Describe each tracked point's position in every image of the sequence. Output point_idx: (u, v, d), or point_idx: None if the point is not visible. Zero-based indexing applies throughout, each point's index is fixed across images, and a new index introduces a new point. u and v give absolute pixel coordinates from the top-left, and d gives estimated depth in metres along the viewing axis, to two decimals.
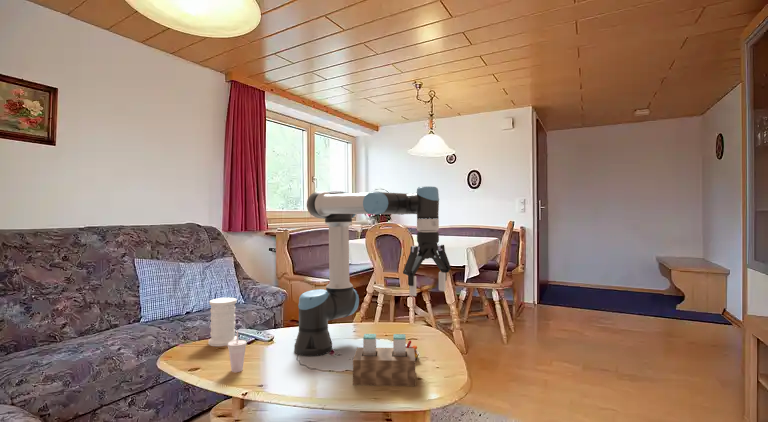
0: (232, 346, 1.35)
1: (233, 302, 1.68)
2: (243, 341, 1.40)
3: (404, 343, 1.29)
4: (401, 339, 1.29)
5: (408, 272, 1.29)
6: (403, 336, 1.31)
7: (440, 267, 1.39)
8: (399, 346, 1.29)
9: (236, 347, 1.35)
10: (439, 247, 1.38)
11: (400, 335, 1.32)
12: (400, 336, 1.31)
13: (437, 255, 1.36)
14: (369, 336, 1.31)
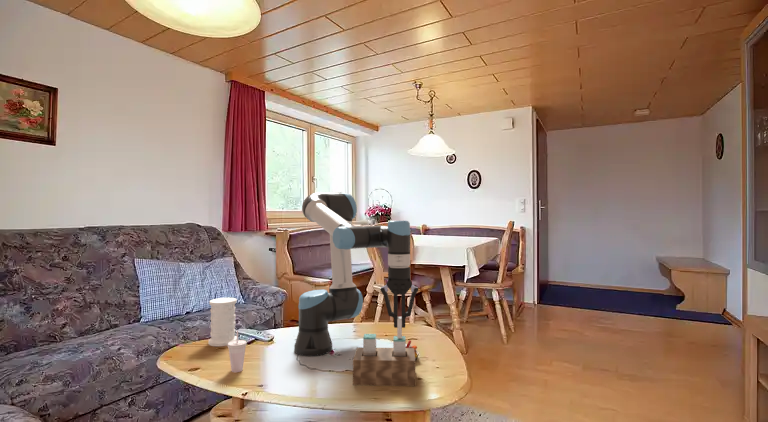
0: (232, 346, 1.35)
1: (233, 302, 1.68)
2: (243, 341, 1.40)
3: (404, 345, 1.29)
4: (401, 341, 1.29)
5: (389, 314, 1.30)
6: (403, 338, 1.31)
7: None
8: (399, 348, 1.29)
9: (236, 347, 1.35)
10: (413, 288, 1.31)
11: None
12: None
13: (403, 294, 1.30)
14: (369, 336, 1.31)
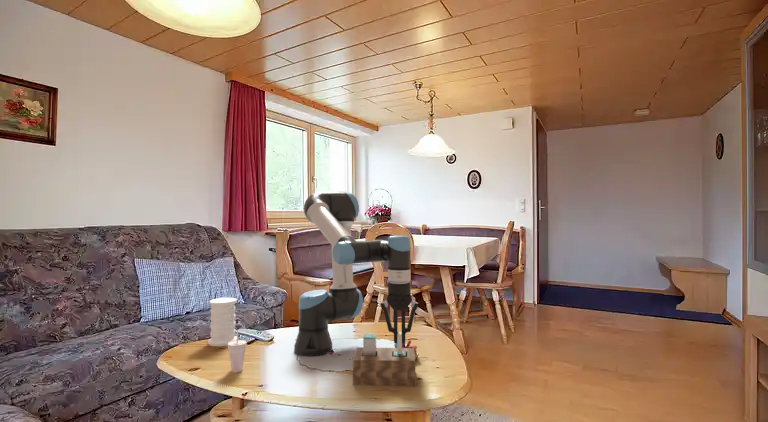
0: (232, 346, 1.35)
1: (233, 302, 1.68)
2: (243, 341, 1.40)
3: None
4: None
5: (389, 329, 1.30)
6: (403, 353, 1.31)
7: None
8: None
9: (236, 347, 1.35)
10: (413, 303, 1.31)
11: None
12: None
13: (403, 309, 1.30)
14: (369, 336, 1.31)
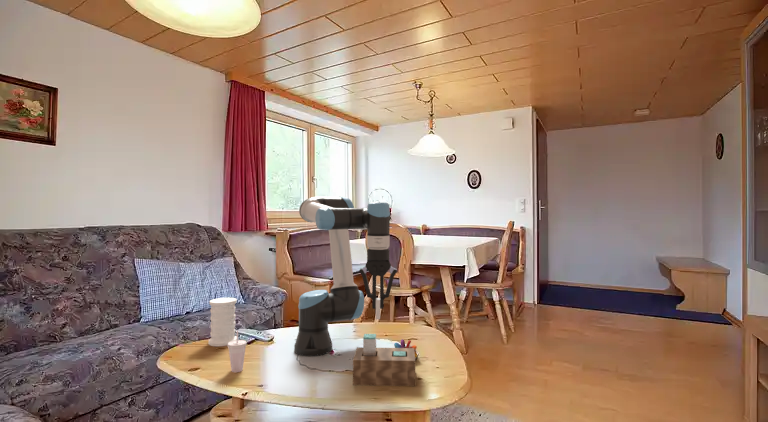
0: (232, 346, 1.35)
1: (233, 302, 1.68)
2: (243, 341, 1.40)
3: None
4: None
5: (367, 295, 1.31)
6: (403, 354, 1.31)
7: (380, 291, 1.32)
8: None
9: (236, 347, 1.35)
10: (392, 269, 1.32)
11: (400, 352, 1.32)
12: (400, 354, 1.31)
13: (381, 275, 1.30)
14: (369, 336, 1.31)
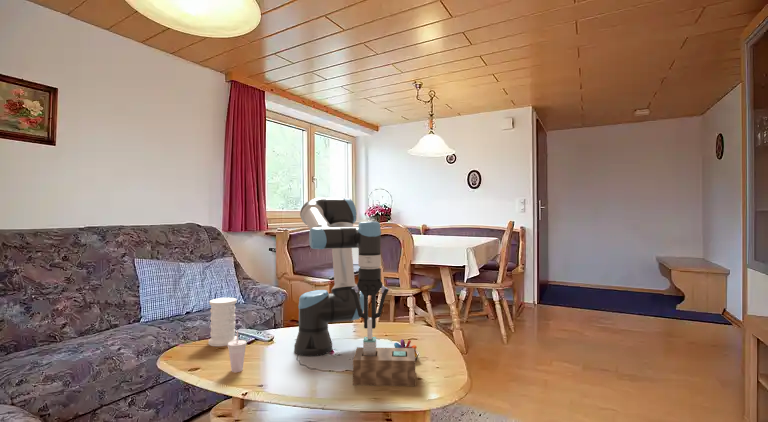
0: (232, 346, 1.35)
1: (233, 302, 1.68)
2: (243, 341, 1.40)
3: None
4: None
5: (359, 315, 1.31)
6: (403, 354, 1.31)
7: None
8: None
9: (236, 347, 1.35)
10: (383, 288, 1.31)
11: (400, 352, 1.32)
12: (400, 354, 1.31)
13: (373, 295, 1.30)
14: (369, 339, 1.31)
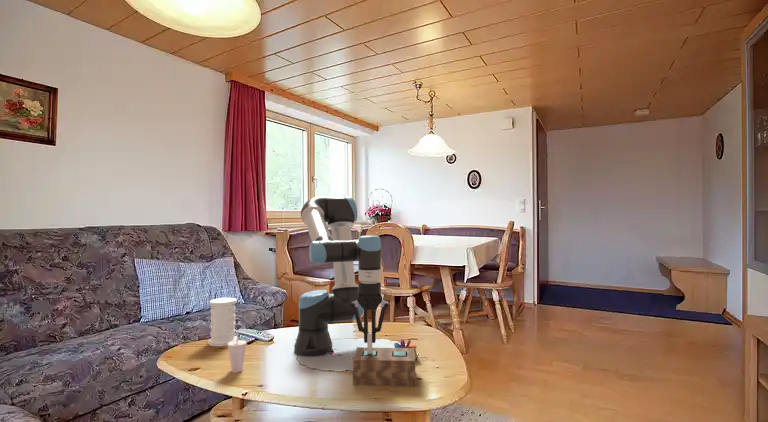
0: (232, 346, 1.35)
1: (233, 302, 1.68)
2: (243, 341, 1.40)
3: None
4: None
5: (359, 329, 1.31)
6: (403, 354, 1.31)
7: None
8: None
9: (236, 347, 1.35)
10: (383, 303, 1.31)
11: (400, 352, 1.32)
12: (400, 354, 1.31)
13: (373, 309, 1.30)
14: None
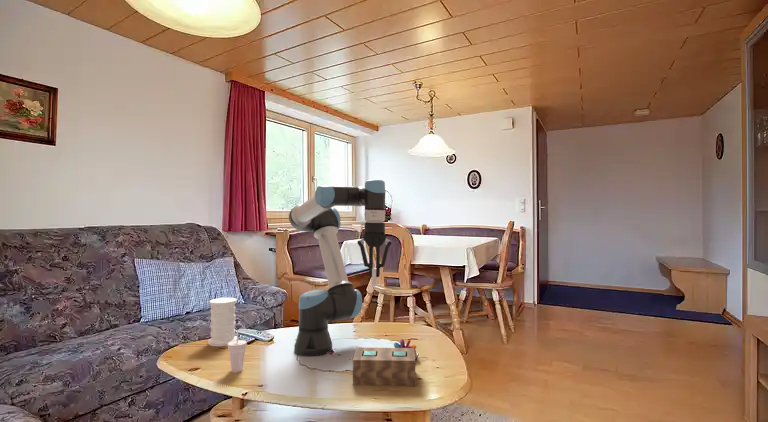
0: (232, 346, 1.35)
1: (233, 302, 1.68)
2: (243, 341, 1.40)
3: None
4: None
5: (365, 264, 1.44)
6: (403, 354, 1.31)
7: (376, 261, 1.45)
8: None
9: (236, 347, 1.35)
10: (387, 241, 1.44)
11: (400, 352, 1.32)
12: (400, 354, 1.31)
13: (377, 246, 1.43)
14: (369, 353, 1.31)
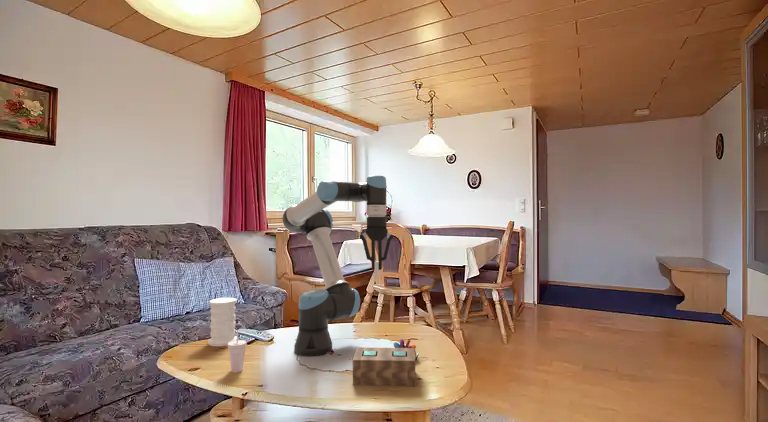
0: (232, 346, 1.35)
1: (233, 302, 1.68)
2: (243, 341, 1.40)
3: None
4: None
5: (367, 258, 1.48)
6: (403, 354, 1.31)
7: None
8: None
9: (236, 347, 1.35)
10: (388, 235, 1.49)
11: (400, 352, 1.32)
12: (400, 354, 1.31)
13: (379, 240, 1.48)
14: (369, 353, 1.31)
